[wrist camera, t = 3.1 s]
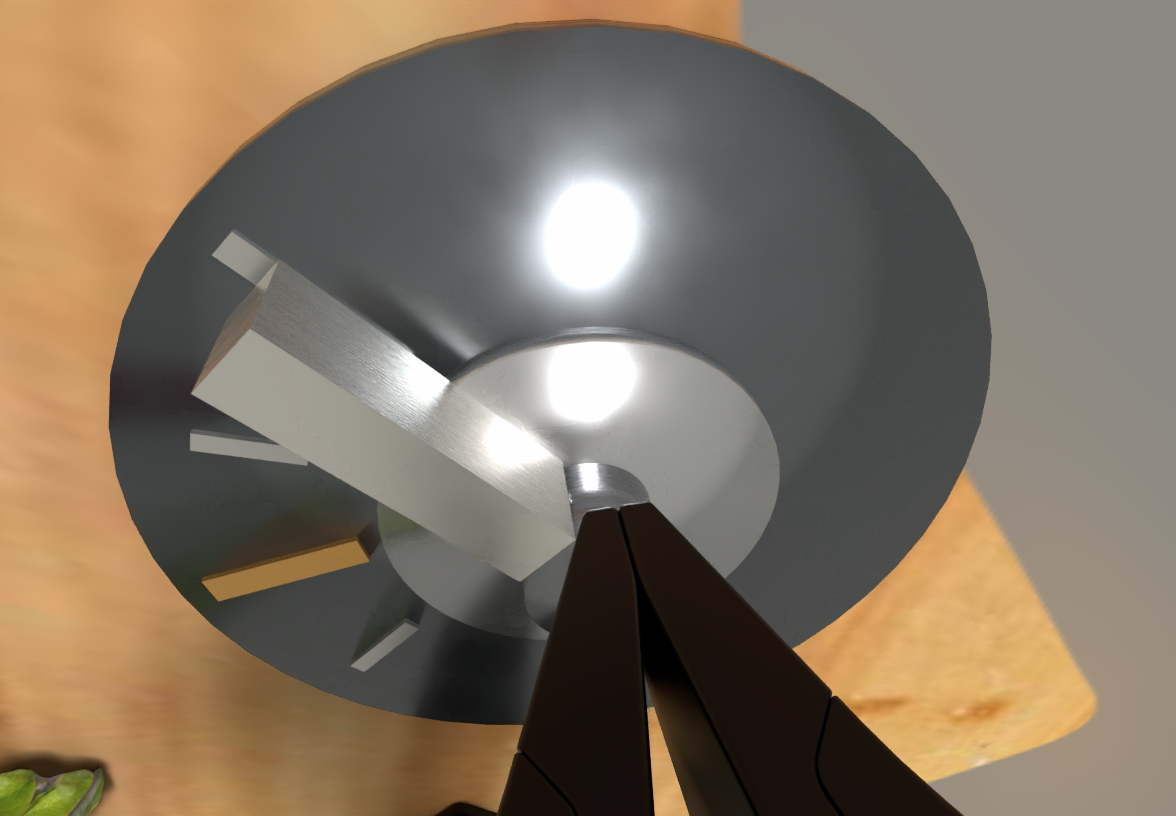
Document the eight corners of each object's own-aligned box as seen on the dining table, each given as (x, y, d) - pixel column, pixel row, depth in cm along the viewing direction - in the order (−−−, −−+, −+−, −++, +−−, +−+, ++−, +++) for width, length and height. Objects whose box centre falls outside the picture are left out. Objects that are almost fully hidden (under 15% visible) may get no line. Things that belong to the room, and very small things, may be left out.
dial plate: (1090, 435, 27) (1114, 456, 26) (564, 766, 35) (567, 791, 34) (605, -321, 13) (616, -333, 12) (-56, 508, 22) (-80, 538, 21)
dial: (841, 478, 24) (896, 567, 21) (573, 661, 28) (588, 759, 25) (430, 80, 16) (424, 137, 13) (124, 427, 19) (64, 533, 16)
